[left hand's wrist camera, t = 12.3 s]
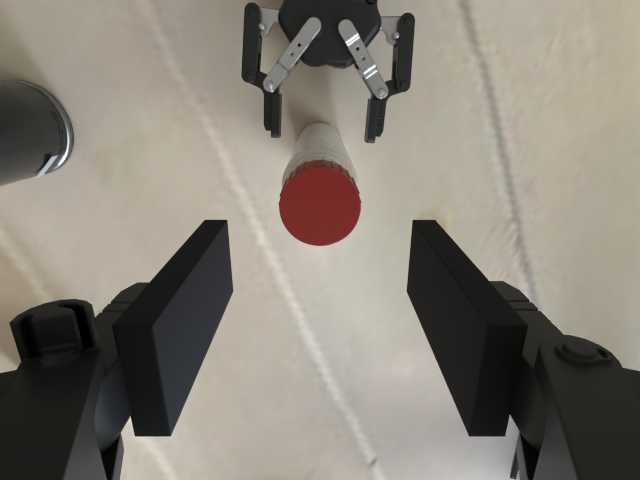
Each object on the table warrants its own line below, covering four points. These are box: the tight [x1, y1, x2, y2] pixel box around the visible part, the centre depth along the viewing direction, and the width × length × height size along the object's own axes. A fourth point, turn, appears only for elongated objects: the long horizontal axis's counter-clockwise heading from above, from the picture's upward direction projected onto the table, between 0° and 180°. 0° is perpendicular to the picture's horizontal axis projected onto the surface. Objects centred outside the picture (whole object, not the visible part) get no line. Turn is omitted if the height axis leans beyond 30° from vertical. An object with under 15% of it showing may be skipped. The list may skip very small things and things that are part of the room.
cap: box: [279, 159, 361, 246], centre depth 21 cm, size 4×4×2 cm
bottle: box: [282, 122, 358, 188], centre depth 31 cm, size 5×5×24 cm
